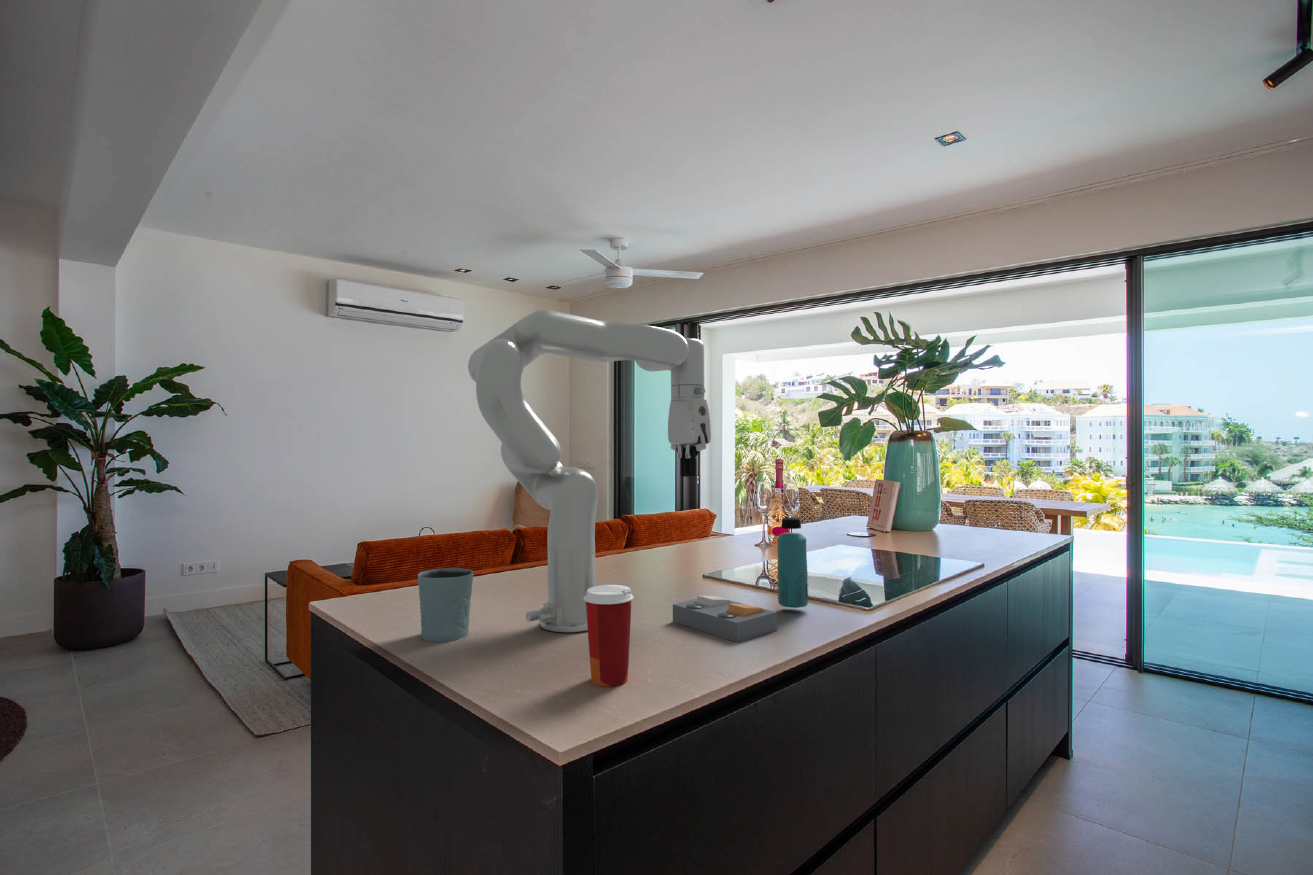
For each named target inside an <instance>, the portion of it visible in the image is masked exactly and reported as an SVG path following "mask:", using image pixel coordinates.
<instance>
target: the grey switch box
mask: <svg viewBox="0 0 1313 875" xmlns="http://www.w3.org/2000/svg"><path fill="white" fill-rule="evenodd" d="M728 600H729V603H728V604H724V605H720V606H716V607H712V608H711V607H707V606H704V605H701V604H696V602H697V598H695V599H690V600H686V601H682V602H678V603H677V602H676V603H673V604H672V622H674V623H677V624H679V625H680V624H681V625H683V626H685V627H689V628H692V629H696V630H698V631H701V632H704V631H705V632H704V633H708V634H710V635H711V634H712V635H714V636H717V637H721V638H723V637H724V639H727V640H729V639H731V640H730V641H733V642H736V643H738V642H742V640H743V641H746V640H749V639H752V638H753V639H754V638H756V637H759V636H762V635H767V634H770V633H772V632H776V631H778V613H777V611H773V610H770V609H765V608H763V612H761V613H757V614H753V615H749V616H745V617H744V616H740V615H736V614H734V613H729V612H728V606H729V604H744V603H742V602H739V601H734V600H730V599H728ZM745 639H746V640H745Z"/></svg>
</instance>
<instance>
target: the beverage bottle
mask: <svg viewBox="0 0 1313 875" xmlns="http://www.w3.org/2000/svg"><path fill="white" fill-rule="evenodd" d="M781 528H782V529H785V530H786V529H787V530H797V529H802V525H801V518H798V517H783V518H782V519H781ZM776 544H777V545H776V546H777V547H776V548H777V551H776V552H777V570H776V571H777V572H776V575H777V578H776V579H777V584H776V585H777V590H776V591H777V592H776V593H777V601H778V605H779V606H781V607H786V608H790V609H791V608H794V609H795V608H796V609H797V608H798V609H799V608H804V607H805V608H806V607H807V606H808V603H809V583H808V580H809V577H808V576H809V572H808V571H809V570H808V558H807V557H808V556H807V553H808V552H807V538H806V536H804V534H802V533H798V532H783V533H781V534H780V535H778V536H777V538H776Z"/></svg>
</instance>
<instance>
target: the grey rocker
mask: <svg viewBox="0 0 1313 875" xmlns="http://www.w3.org/2000/svg"><path fill="white" fill-rule="evenodd" d="M696 599H697V602H696V604H701V605H704V606H707V607H711V608H712V607H716V606H720V605H724V604H728V603H729V600H730V599H727V598H725V597H720V596H717V595H697V596H696Z"/></svg>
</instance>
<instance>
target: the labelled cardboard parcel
mask: <svg viewBox="0 0 1313 875" xmlns="http://www.w3.org/2000/svg"><path fill="white" fill-rule="evenodd" d="M763 609H764V608H763V607H761V606H756V605H753V604H749V603H743V604H729V606H728V612H729V613H734V614H736V615H740V616H744V617H745V616H749V615H753V614H757V613H761V612H763Z"/></svg>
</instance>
